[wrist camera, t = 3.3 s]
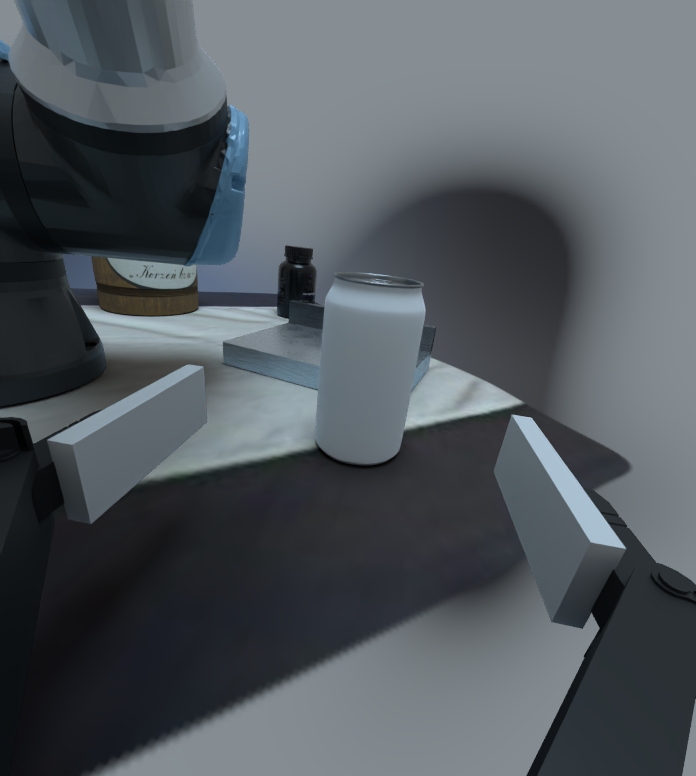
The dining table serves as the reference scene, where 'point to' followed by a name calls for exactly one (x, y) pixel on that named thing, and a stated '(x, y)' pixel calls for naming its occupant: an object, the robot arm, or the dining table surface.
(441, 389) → the dining table surface
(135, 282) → the wooden container
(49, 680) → the dining table surface
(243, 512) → the dining table surface
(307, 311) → the grey tray
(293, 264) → the supplement bottle
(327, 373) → the can
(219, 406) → the dining table surface
